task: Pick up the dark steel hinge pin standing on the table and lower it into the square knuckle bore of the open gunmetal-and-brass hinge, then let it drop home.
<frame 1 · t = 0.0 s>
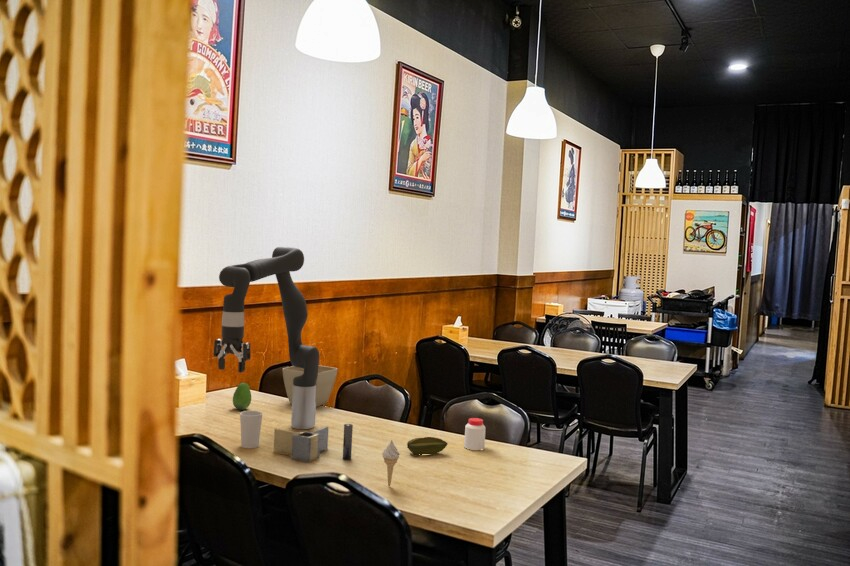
hand: (231, 370, 244), 29 cm above the table, fingers open, 8 cm apart
ice cream cone: (389, 487, 221), on the table
hinge pin: (346, 458, 247), on the table
pill bottle: (474, 448, 269), on the table
cup: (250, 446, 256), on the table
flower pot: (308, 404, 327), on the table
fruit: (241, 410, 310), on the table
fruit 2: (425, 454, 257), on the table
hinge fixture: (305, 458, 245), on the table
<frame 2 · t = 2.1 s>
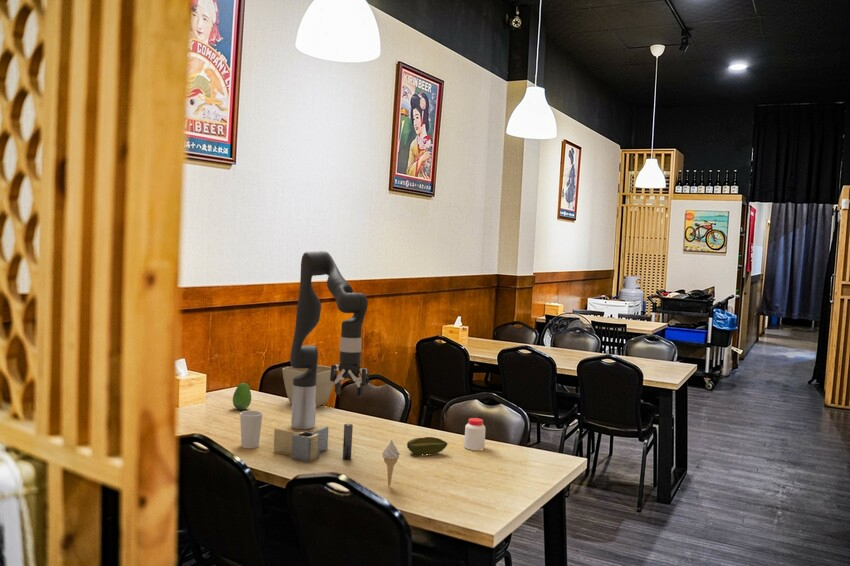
hand: (348, 395, 246), 22 cm above the table, fingers open, 8 cm apart
nothing on the table moved.
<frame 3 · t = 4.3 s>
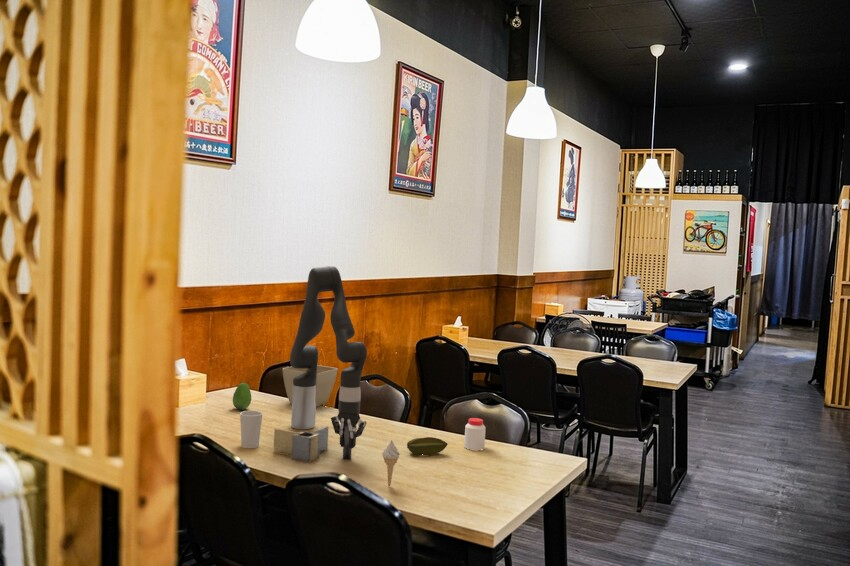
hand: (347, 446, 247), 4 cm above the table, fingers closed on hinge pin, 3 cm apart
hinge pin: (346, 458, 247), on the table, touching gripper
everything else where it was.
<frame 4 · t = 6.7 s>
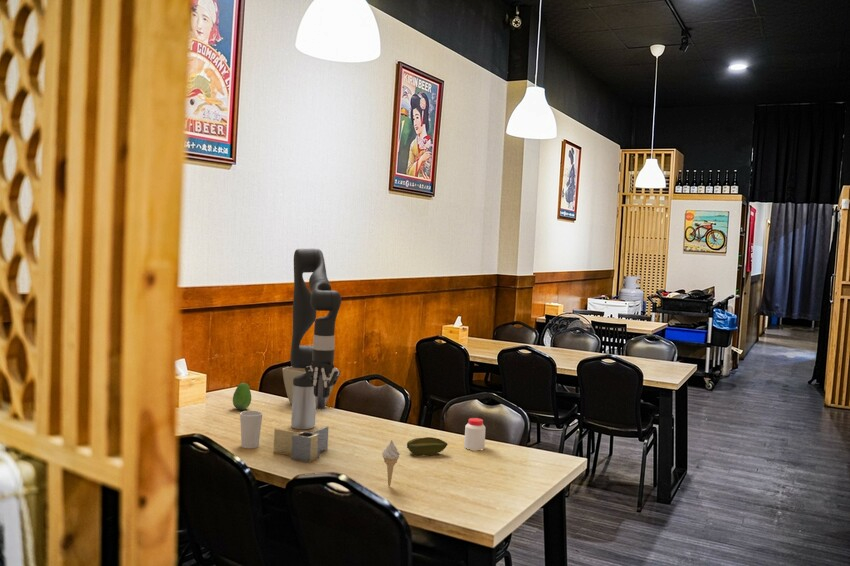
hand: (321, 396, 245), 22 cm above the table, fingers closed on hinge pin, 3 cm apart
hinge pin: (320, 408, 245), point 18 cm above the table, touching gripper
everything else where it was.
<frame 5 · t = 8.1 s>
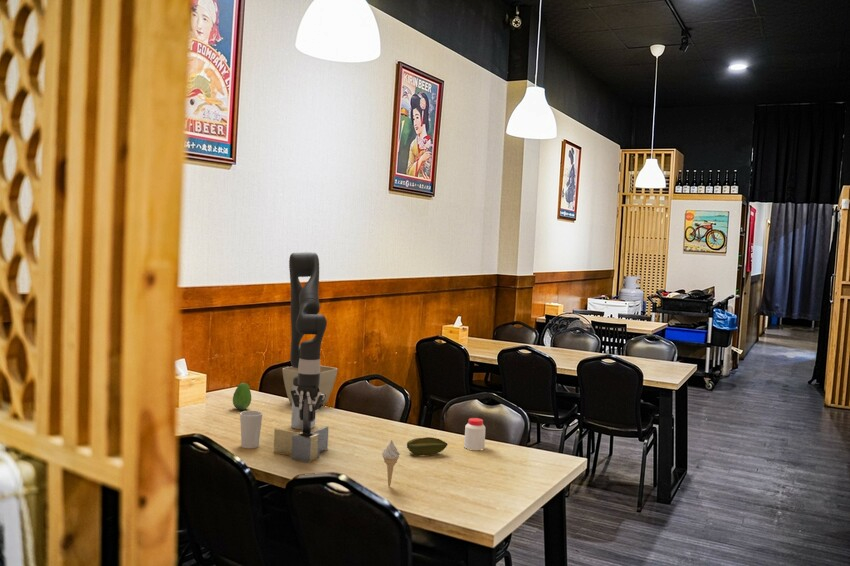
hand: (307, 420, 244), 13 cm above the table, fingers closed on hinge pin, 3 cm apart
hinge pin: (306, 432, 244), point 9 cm above the table, touching gripper
everything else where it was.
when the fingers open (10 cm above the table, at t = 9.1 s): hinge pin drops 5 cm, resting in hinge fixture.
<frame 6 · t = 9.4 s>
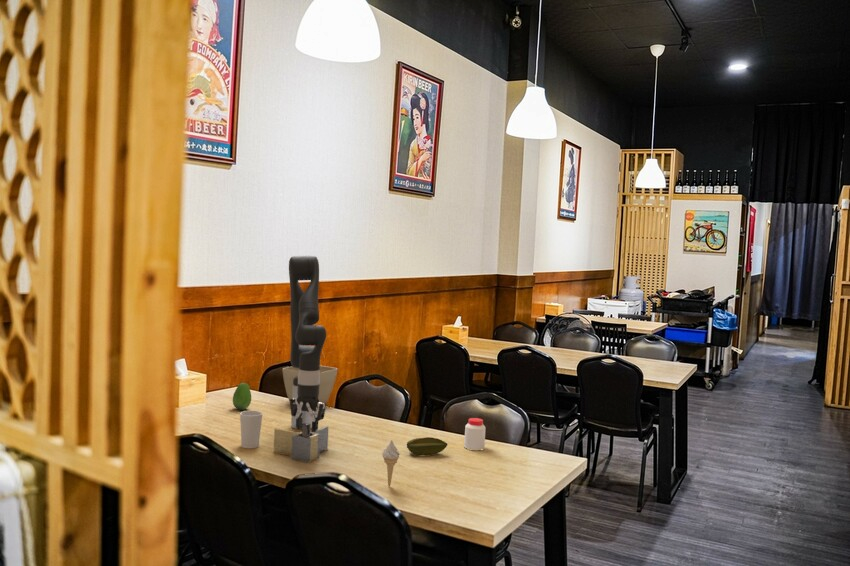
hand: (306, 430, 244), 10 cm above the table, fingers open, 5 cm apart
hinge pin: (305, 458, 245), resting in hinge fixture
everything else where it was.
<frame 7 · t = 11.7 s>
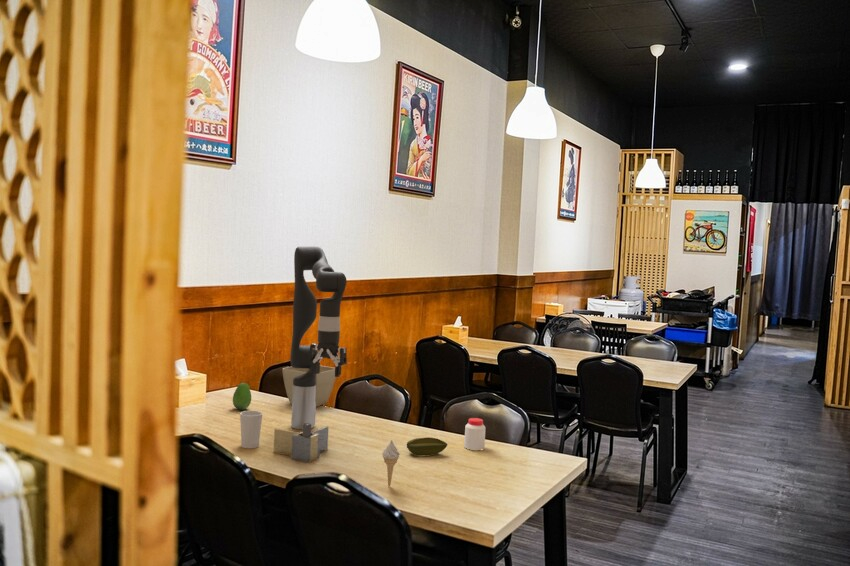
hand: (326, 375, 245), 29 cm above the table, fingers open, 8 cm apart
nothing on the table moved.
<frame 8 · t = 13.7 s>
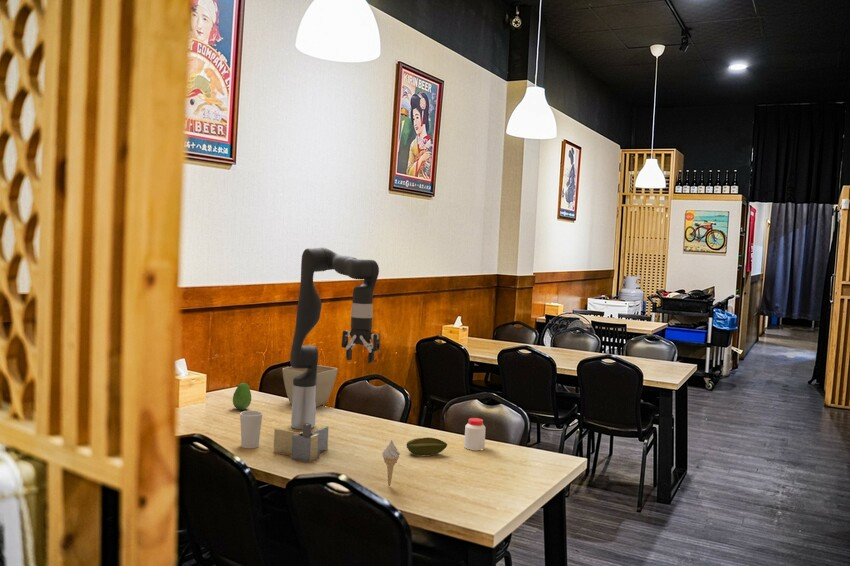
hand: (359, 361, 249), 34 cm above the table, fingers open, 8 cm apart
nothing on the table moved.
at the end: hinge pin 0.1 cm off-centre on the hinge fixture, point 0.0 cm above the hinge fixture's base; hinge pin tilted 0°; the gripper is holding nothing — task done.
